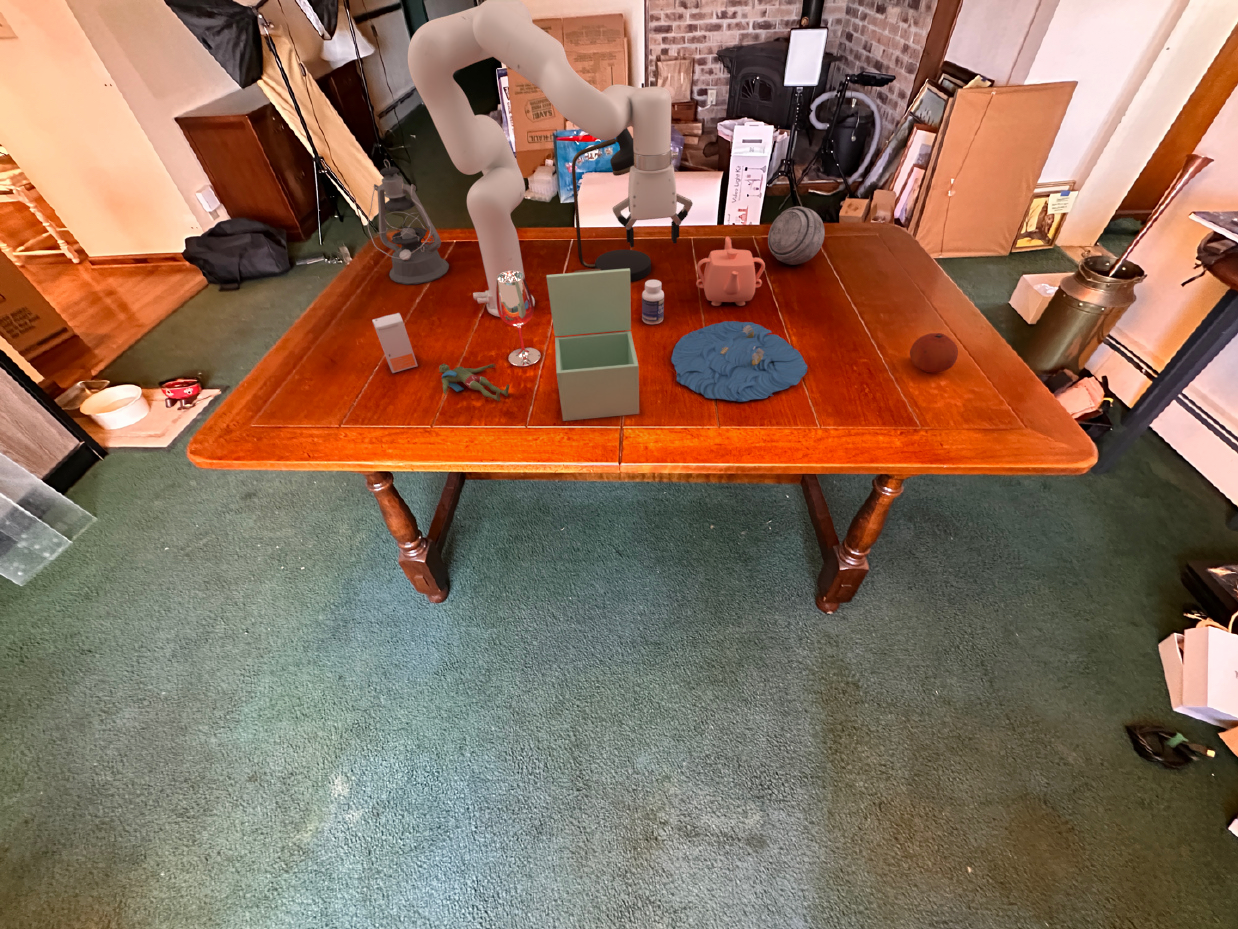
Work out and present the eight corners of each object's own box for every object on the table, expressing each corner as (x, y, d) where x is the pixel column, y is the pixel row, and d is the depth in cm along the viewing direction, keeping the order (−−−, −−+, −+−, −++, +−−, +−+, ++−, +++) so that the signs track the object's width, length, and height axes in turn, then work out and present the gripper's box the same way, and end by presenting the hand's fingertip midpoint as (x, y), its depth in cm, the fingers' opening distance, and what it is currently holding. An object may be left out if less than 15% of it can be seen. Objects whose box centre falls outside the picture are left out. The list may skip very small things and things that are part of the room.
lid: (630, 270, 104) (627, 257, 107) (546, 277, 103) (545, 264, 106) (630, 330, 114) (628, 316, 117) (554, 336, 113) (554, 323, 116)
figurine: (477, 402, 111) (412, 374, 117) (479, 418, 113) (415, 390, 120) (526, 372, 122) (464, 348, 128) (527, 388, 124) (465, 364, 131)
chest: (639, 413, 114) (638, 365, 105) (563, 421, 113) (556, 373, 105) (631, 377, 123) (630, 330, 114) (561, 384, 122) (555, 337, 114)
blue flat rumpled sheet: (795, 421, 112) (801, 401, 108) (654, 392, 120) (654, 373, 116) (814, 339, 131) (819, 320, 127) (690, 319, 139) (691, 300, 135)
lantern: (384, 293, 155) (342, 178, 134) (388, 263, 169) (351, 154, 148) (450, 284, 157) (419, 169, 136) (448, 254, 171) (420, 146, 150)
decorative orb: (755, 258, 162) (762, 205, 152) (793, 246, 167) (803, 194, 156) (790, 278, 153) (800, 222, 142) (829, 265, 157) (842, 210, 147)
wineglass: (546, 351, 131) (534, 270, 117) (532, 369, 126) (518, 287, 112) (517, 346, 133) (501, 265, 119) (501, 364, 128) (484, 282, 114)
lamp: (656, 281, 154) (658, 123, 127) (578, 284, 155) (563, 126, 128) (654, 256, 166) (655, 105, 138) (581, 258, 166) (568, 109, 139)
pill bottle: (661, 325, 138) (662, 289, 131) (640, 324, 138) (640, 287, 132) (665, 314, 141) (665, 278, 134) (644, 313, 142) (644, 277, 135)
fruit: (896, 362, 123) (908, 330, 118) (928, 353, 125) (941, 321, 120) (926, 384, 117) (940, 351, 112) (958, 373, 119) (974, 341, 114)
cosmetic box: (392, 374, 127) (374, 328, 118) (389, 365, 130) (371, 319, 121) (419, 366, 129) (403, 320, 120) (415, 357, 131) (399, 311, 123)
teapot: (730, 319, 139) (736, 270, 130) (684, 295, 148) (686, 248, 139) (770, 299, 145) (778, 251, 136) (723, 277, 154) (728, 231, 146)
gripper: (690, 151, 117) (687, 232, 129) (608, 158, 116) (613, 239, 128) (697, 162, 111) (693, 246, 123) (611, 169, 111) (616, 253, 123)
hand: (652, 242), depth 126 cm, fingers open, 9 cm apart
